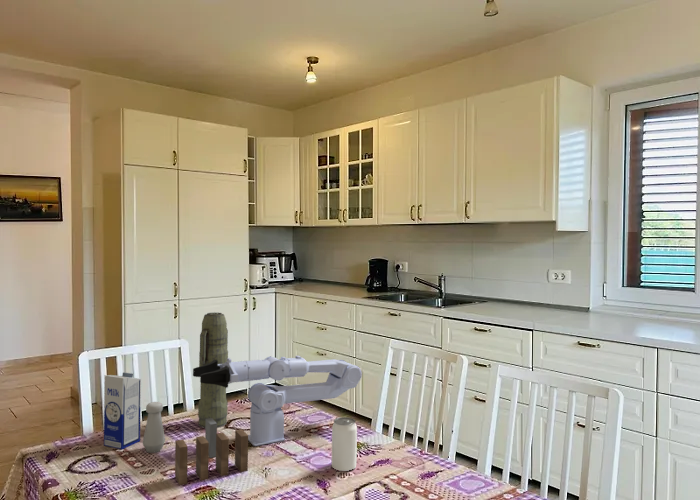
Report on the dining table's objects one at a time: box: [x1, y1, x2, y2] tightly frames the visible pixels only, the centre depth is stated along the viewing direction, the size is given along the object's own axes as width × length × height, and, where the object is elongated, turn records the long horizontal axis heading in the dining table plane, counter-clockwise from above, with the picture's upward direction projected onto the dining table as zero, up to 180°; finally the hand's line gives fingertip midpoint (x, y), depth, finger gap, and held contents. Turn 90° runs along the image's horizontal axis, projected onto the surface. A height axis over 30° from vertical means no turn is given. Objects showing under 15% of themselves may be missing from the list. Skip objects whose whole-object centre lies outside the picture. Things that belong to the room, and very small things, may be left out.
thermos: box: [197, 312, 229, 429], centre depth 163 cm, size 9×12×35 cm
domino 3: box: [204, 418, 218, 459], centre depth 139 cm, size 2×5×9 cm, turn 30°
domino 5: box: [234, 429, 249, 473], centre depth 131 cm, size 2×5×9 cm, turn 31°
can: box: [331, 416, 358, 472], centre depth 133 cm, size 6×6×12 cm
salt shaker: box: [142, 401, 166, 454], centre depth 141 cm, size 6×6×13 cm
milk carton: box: [103, 372, 142, 450], centre depth 146 cm, size 7×7×20 cm
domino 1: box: [174, 439, 189, 486], centre depth 124 cm, size 2×5×9 cm, turn 31°
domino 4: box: [215, 432, 230, 477], centre depth 129 cm, size 2×5×9 cm, turn 31°
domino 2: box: [195, 435, 210, 482], centre depth 126 cm, size 2×5×9 cm, turn 31°
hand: (196, 375), depth 140 cm, fingers open, 7 cm apart
